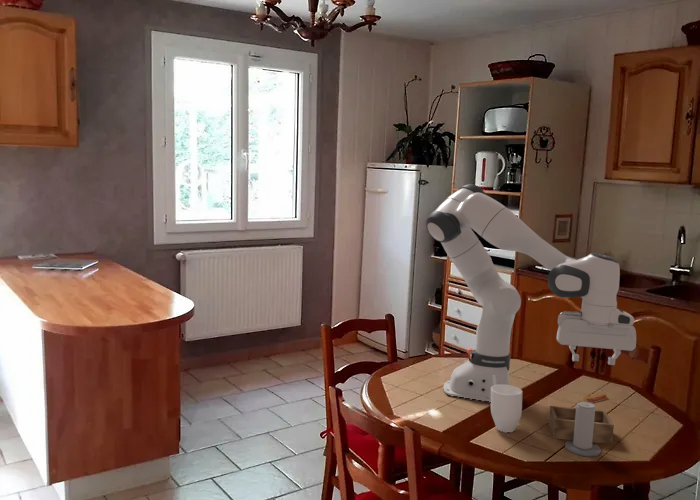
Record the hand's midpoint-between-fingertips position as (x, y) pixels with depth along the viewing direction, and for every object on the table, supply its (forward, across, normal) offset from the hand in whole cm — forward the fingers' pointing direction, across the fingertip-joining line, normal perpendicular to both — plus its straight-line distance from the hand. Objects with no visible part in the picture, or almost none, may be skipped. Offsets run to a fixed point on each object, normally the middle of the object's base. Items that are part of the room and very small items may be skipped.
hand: (593, 362), depth 172 cm
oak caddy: (+23, -1, +5) cm, 23 cm away
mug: (+23, -22, +5) cm, 32 cm away
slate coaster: (+23, -2, -6) cm, 23 cm away
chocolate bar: (+23, +10, +34) cm, 43 cm away
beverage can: (+22, -2, -5) cm, 23 cm away
